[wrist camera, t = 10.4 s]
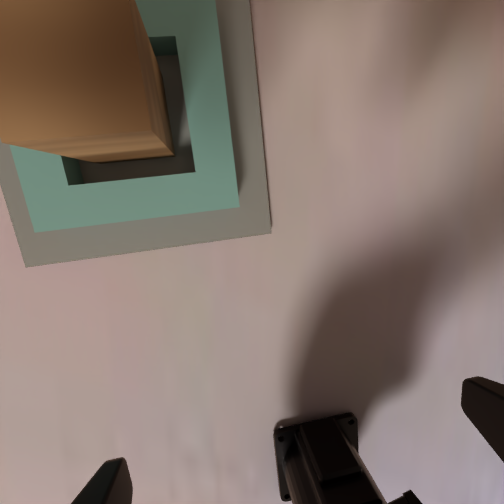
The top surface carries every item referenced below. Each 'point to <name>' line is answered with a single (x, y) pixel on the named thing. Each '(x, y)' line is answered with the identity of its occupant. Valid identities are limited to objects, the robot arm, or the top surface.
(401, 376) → the top surface
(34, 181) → the socket block
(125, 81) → the walnut peg
